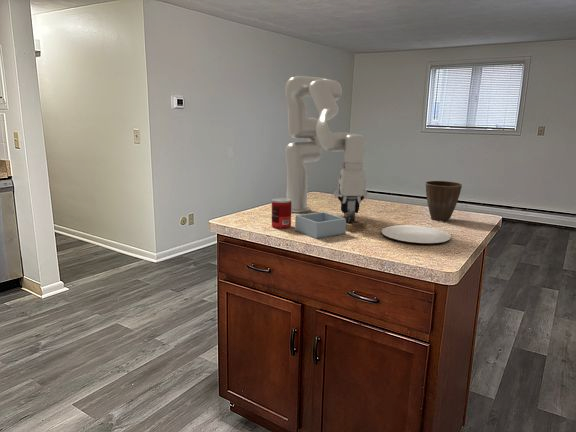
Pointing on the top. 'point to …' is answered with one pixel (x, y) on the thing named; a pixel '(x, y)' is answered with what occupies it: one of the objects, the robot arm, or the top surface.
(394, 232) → the plate
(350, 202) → the peg
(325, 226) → the bin
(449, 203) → the plant pot
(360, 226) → the socket block
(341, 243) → the top surface
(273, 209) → the canned food
